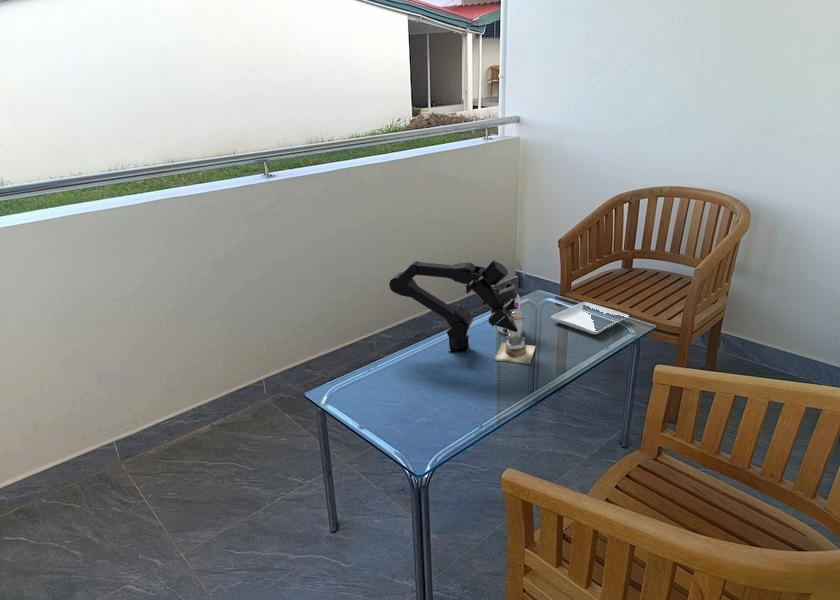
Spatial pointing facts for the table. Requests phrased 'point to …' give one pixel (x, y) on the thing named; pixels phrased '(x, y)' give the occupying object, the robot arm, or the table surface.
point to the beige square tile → (515, 354)
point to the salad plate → (584, 317)
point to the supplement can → (517, 303)
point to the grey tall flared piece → (515, 338)
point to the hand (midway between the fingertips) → (519, 325)
